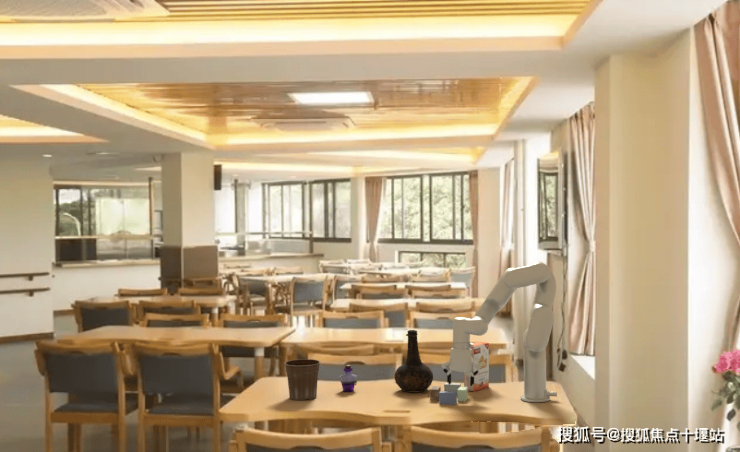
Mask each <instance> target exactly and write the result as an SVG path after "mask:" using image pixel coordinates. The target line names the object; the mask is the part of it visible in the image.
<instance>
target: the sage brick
mask: <svg viewBox="0 0 740 452" xmlns="http://www.w3.org/2000/svg"><path fill="white" fill-rule="evenodd" d="M457 391H458V396H457V402H467V400H468V399H469V391H468V387H464V386H461V387H459V389H458V390H457Z"/></svg>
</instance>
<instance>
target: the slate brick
mask: <svg viewBox="0 0 740 452" xmlns="http://www.w3.org/2000/svg"><path fill="white" fill-rule="evenodd" d="M461 383H462V382H451V384H450V385H449V384H448V382H445V383H444V384H443V391H452V392H457V397H458V391H457V390H458V389H459V387H462V385H461Z"/></svg>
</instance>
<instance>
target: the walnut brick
mask: <svg viewBox="0 0 740 452" xmlns="http://www.w3.org/2000/svg"><path fill="white" fill-rule="evenodd" d="M440 391H442V390H441V385H440V386H437V385H434V386H431V388H429V401H430V402H431V401H434V402H439V392H440Z"/></svg>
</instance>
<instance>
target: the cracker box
mask: <svg viewBox="0 0 740 452" xmlns="http://www.w3.org/2000/svg"><path fill="white" fill-rule="evenodd" d="M472 344H473V347H470V349H472V355H473V362H474V363H475V364H477V365H479V366H480V367H481V368H480V370H479V372H478V373H477V374H476V375H475V376H474V384H473V385H472V386H470V377H471V375H470V373H469V372H463V387H468V392H477V391H479V390H482V389H485V388H489V387H490V385H489V384H490V377H489V376H490V369H489V367H490V364H489V363H490V359H489V357H490V347H489V346H490V343H489V342H485V341H484V342H482V341H480V342H479V341H478V342H477V341H476V342H474V343H472ZM476 370H477V368H476V367H474V366H473V370H472V371H473V372H475V371H476Z"/></svg>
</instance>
